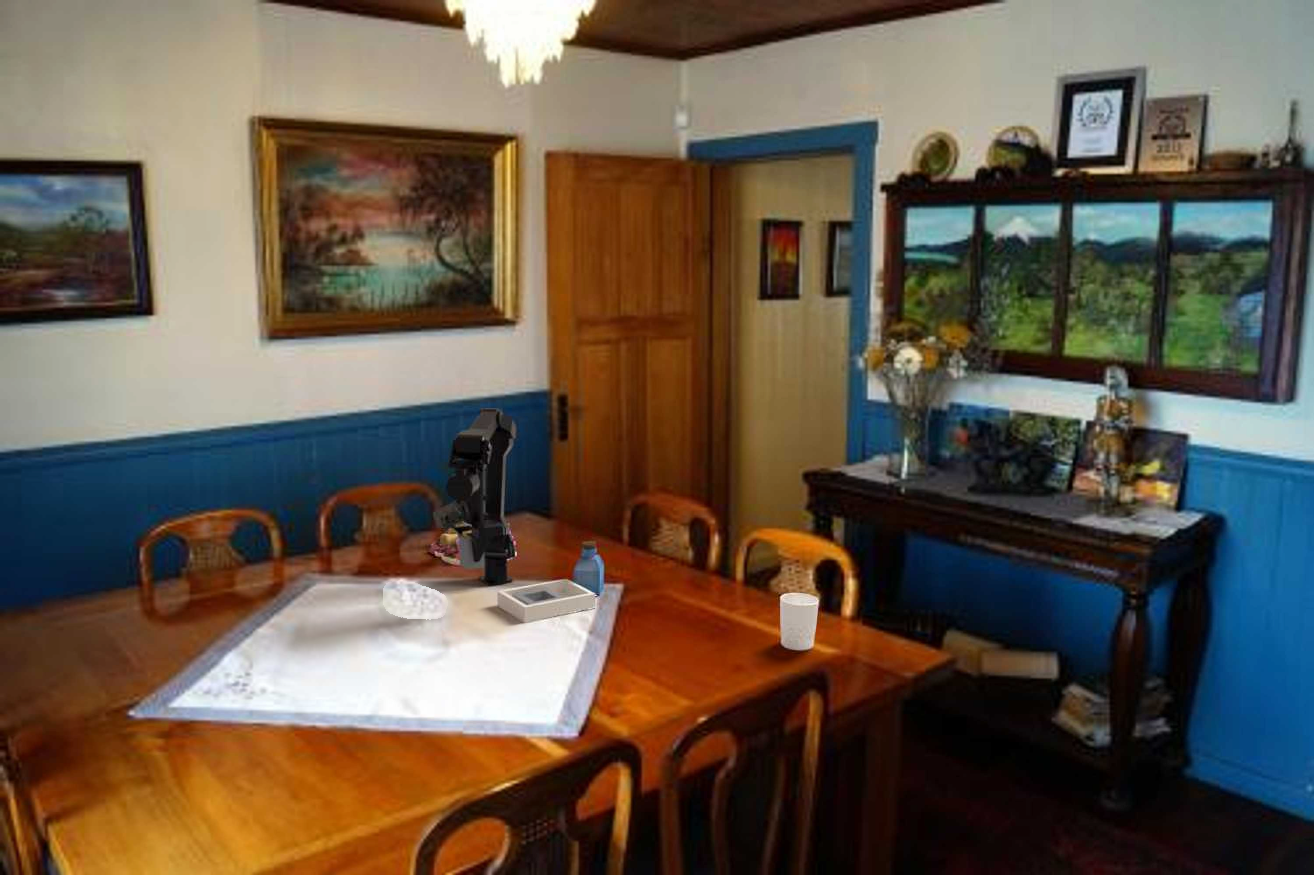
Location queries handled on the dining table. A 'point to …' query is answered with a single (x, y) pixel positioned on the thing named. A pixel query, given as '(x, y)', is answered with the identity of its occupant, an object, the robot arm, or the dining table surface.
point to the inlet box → (545, 600)
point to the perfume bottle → (590, 569)
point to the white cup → (798, 620)
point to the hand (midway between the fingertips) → (472, 559)
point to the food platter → (449, 547)
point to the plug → (468, 553)
